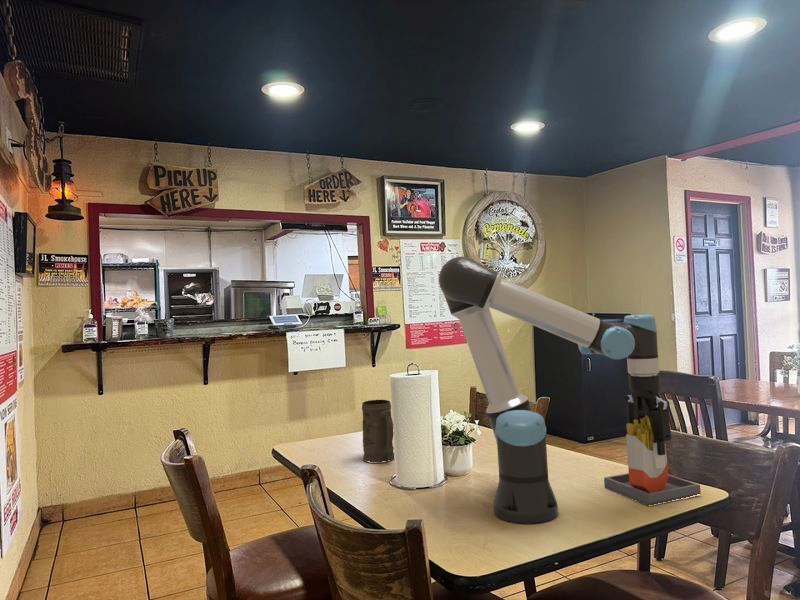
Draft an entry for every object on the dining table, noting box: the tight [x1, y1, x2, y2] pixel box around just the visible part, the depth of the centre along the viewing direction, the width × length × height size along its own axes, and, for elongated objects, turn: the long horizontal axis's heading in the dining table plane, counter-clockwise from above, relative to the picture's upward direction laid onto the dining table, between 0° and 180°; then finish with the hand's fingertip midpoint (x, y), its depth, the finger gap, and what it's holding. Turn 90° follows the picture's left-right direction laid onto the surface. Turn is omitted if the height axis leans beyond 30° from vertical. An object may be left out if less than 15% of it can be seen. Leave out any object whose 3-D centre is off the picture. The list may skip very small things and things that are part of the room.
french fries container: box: [625, 416, 669, 493], centre depth 145 cm, size 5×11×18 cm, turn 125°
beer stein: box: [361, 399, 395, 462], centre depth 191 cm, size 15×11×20 cm
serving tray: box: [603, 472, 702, 506], centre depth 146 cm, size 16×16×3 cm
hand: (650, 464), depth 146 cm, fingers open, 5 cm apart
